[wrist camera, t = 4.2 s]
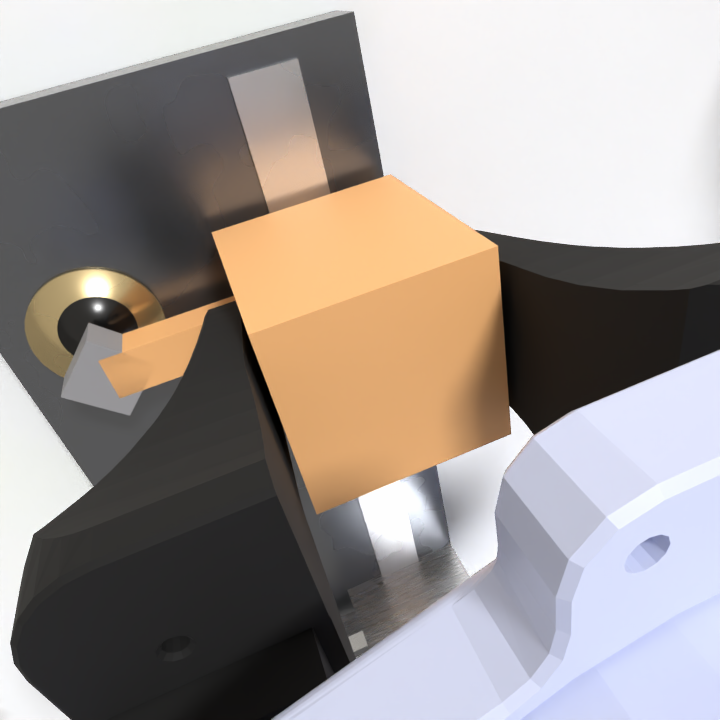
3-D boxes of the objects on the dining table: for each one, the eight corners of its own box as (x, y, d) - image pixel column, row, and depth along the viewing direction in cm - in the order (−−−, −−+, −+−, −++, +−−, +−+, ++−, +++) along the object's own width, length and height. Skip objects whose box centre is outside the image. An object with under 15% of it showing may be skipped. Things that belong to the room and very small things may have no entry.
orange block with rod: (417, 327, 15) (510, 434, 11) (106, 442, 13) (98, 605, 10) (390, 174, 12) (498, 245, 9) (13, 296, 11) (-42, 437, 8)
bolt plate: (448, 583, 24) (528, 729, 19) (243, 676, 23) (273, 858, 18) (335, 10, 12) (474, 17, 7) (-120, 134, 11) (-327, 245, 6)
